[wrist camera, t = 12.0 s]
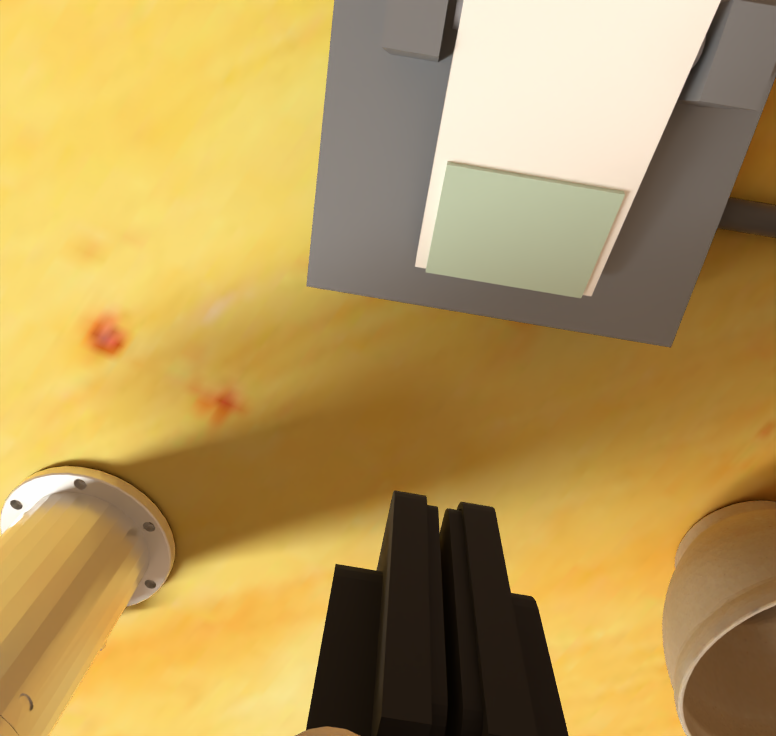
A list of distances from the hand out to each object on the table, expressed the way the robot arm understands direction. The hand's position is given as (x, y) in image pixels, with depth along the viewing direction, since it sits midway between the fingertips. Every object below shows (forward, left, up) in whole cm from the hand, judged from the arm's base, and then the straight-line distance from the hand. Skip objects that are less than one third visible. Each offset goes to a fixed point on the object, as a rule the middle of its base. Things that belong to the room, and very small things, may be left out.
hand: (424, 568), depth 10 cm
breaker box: (+10, -8, -26) cm, 29 cm away
